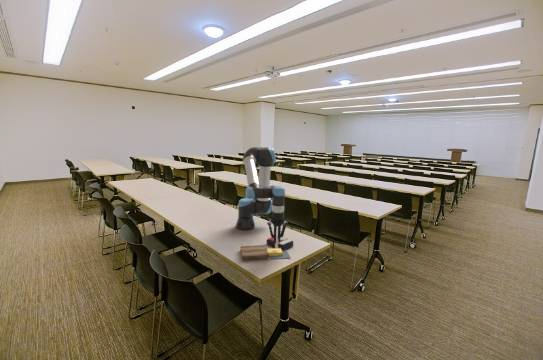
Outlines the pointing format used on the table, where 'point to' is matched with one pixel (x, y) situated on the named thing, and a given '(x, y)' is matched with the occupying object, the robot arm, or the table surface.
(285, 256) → the mat
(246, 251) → the brown wooden slab
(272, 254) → the butter yellow block
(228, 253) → the table surface
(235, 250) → the table surface
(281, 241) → the calculator
